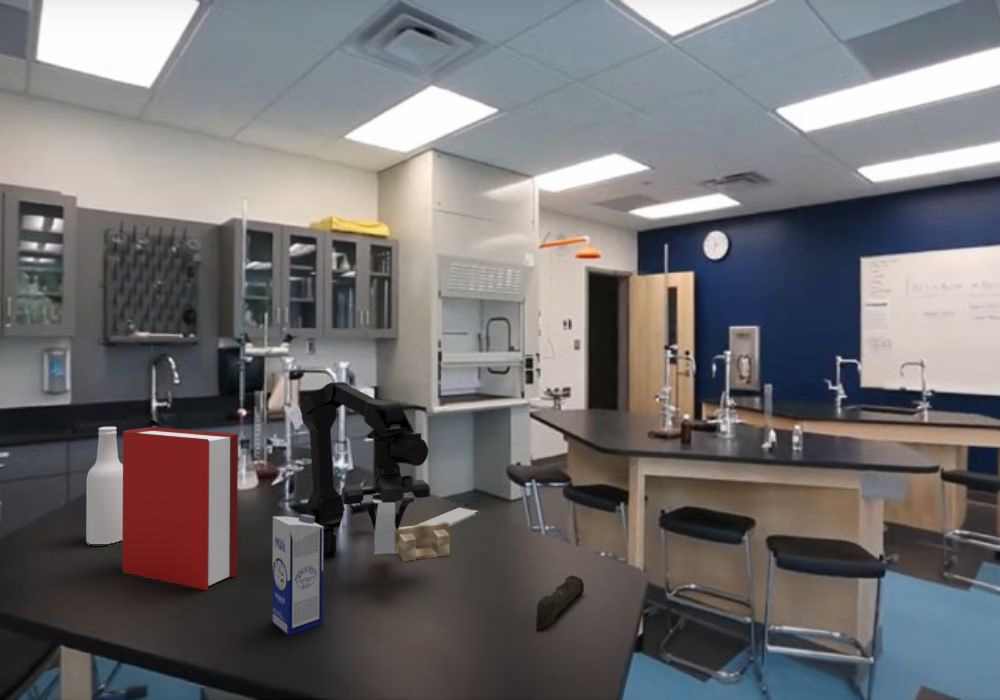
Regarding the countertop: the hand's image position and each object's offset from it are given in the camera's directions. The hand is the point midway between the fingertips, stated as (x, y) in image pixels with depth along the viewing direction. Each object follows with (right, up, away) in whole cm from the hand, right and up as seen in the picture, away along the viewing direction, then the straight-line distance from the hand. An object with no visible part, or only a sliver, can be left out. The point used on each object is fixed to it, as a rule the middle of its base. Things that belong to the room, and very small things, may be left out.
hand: (385, 530), depth 127 cm
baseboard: (+7, -12, +41) cm, 43 cm away
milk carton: (-12, -11, -20) cm, 26 cm away
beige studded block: (+6, -11, +16) cm, 21 cm away
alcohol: (-78, -11, +23) cm, 82 cm away
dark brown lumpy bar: (+37, -12, -15) cm, 42 cm away
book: (-48, -11, +2) cm, 49 cm away
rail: (0, -1, 0) cm, 1 cm away
